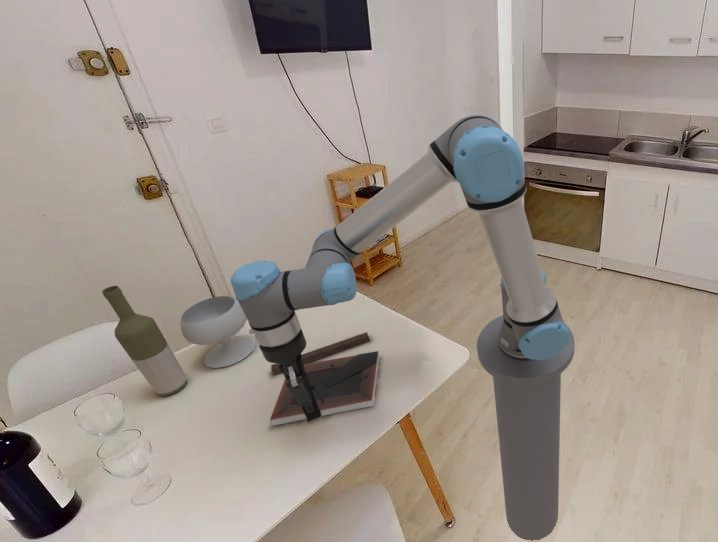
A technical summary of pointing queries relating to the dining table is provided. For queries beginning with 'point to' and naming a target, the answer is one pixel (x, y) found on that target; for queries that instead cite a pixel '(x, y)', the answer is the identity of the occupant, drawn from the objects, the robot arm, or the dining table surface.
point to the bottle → (146, 346)
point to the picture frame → (333, 387)
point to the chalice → (218, 330)
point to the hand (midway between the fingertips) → (314, 416)
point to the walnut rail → (328, 350)
